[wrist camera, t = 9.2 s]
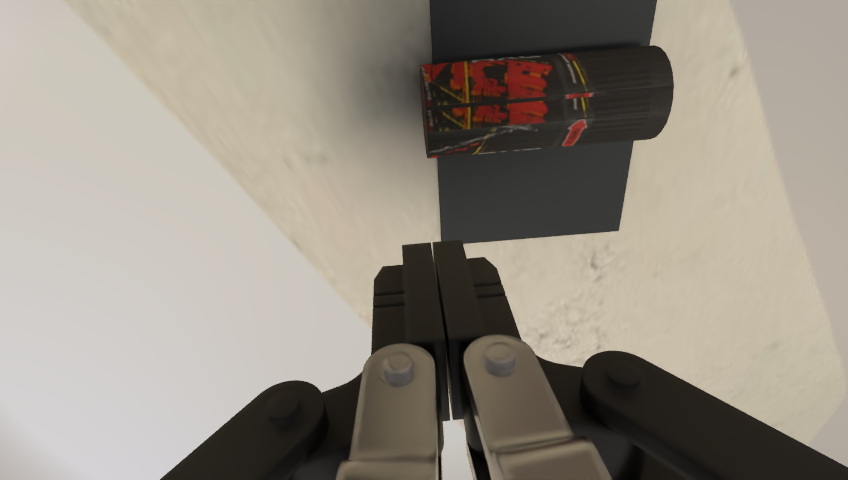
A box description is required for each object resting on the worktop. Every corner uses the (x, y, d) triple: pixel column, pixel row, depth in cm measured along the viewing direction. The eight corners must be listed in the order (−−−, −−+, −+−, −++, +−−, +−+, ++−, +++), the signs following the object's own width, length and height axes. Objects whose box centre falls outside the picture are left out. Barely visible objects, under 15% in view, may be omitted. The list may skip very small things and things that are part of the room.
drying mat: (428, -28, 30) (428, -28, 30) (662, -44, 31) (664, -44, 31) (441, 243, 41) (441, 245, 40) (617, 229, 41) (618, 230, 41)
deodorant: (418, 52, 32) (640, 34, 32) (423, 134, 36) (622, 117, 36) (424, 84, 28) (683, 62, 28) (429, 175, 31) (658, 154, 31)
